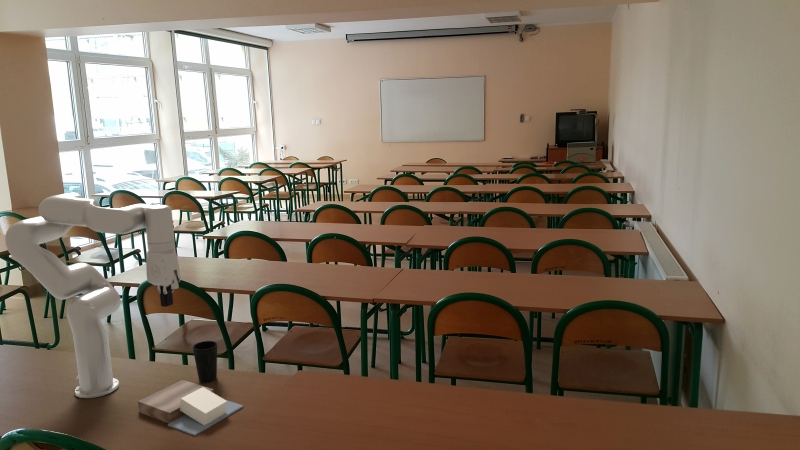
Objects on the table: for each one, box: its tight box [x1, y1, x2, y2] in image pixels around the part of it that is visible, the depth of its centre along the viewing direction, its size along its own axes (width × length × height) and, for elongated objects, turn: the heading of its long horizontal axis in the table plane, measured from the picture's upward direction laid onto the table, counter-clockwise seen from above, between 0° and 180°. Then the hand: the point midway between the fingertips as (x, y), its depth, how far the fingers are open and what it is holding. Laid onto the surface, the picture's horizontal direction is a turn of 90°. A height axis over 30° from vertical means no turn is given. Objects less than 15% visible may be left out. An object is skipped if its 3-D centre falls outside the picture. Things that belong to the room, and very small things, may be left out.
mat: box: [167, 399, 244, 437], centre depth 168 cm, size 11×18×1 cm, turn 150°
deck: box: [137, 379, 215, 424], centre depth 173 cm, size 14×16×4 cm
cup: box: [192, 340, 218, 384], centre depth 190 cm, size 8×8×12 cm
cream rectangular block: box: [180, 386, 228, 426], centre depth 167 cm, size 10×8×4 cm
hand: (167, 305), depth 176 cm, fingers closed
